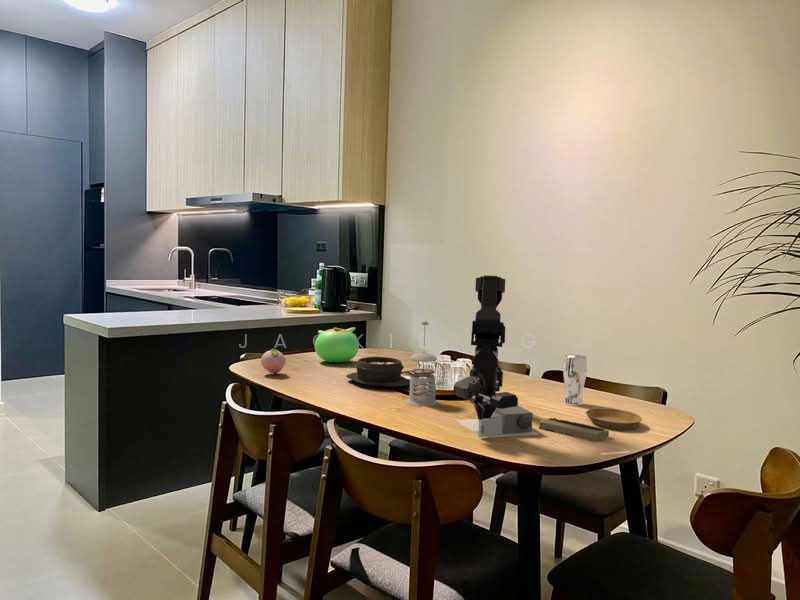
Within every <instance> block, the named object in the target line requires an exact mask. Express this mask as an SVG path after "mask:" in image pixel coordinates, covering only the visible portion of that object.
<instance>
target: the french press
mask: <svg viewBox="0 0 800 600" xmlns="http://www.w3.org/2000/svg"><path fill="white" fill-rule="evenodd" d="M421 325H422V326H429V323H428V321H427V320H424V321H422V322H421ZM423 333H424V334H423V335H424V337H423V346H425V345H426V344H425V343H426V341H425V339H426V328H424V332H423ZM410 360H411V361H415V362H420V363H422V368H413V369H412V370H411V371H410V372H411V373H412V374H410V375H409V377H410V378H409V379H410V384H409V398H407V400H405V401H406V403H407V404H408V405H411V406H416V407H432V406H433V407H434V406H437V405H438V404H439V403H438V401H437V400H436V390H437V387H439V386H441V385H442V383H443V382H444V380H445V377H446V371H445V368H444V366H443V365H442V364H441V363H439V362H437V357H436V356H435V355H433V354H431V353H428V352H425V351H422V352H417V353H415V354H412V355H411V356H410ZM427 362H428V363H429V362H430V363H431V362H434V368H437V365H438V366H440V368H441V371H442V372H443V373H442V374H441V375H442V376H441V377H440V380H439V381H438V382H437V383H436V377H437V376H436V375H434V374H436V373H435V372H436V371H435V370H434V369H429V368H425V366H424V365H425V363H427ZM423 377H424V378H423Z"/></svg>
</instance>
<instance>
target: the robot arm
mask: <svg viewBox="0 0 800 600" xmlns="http://www.w3.org/2000/svg"><path fill="white" fill-rule="evenodd" d="M474 286H475V288H474V290H475V292H476V293H477V299H478V302H479V303H480V309H479V310H477V312H476V313H475V318H474V319H475V320H472V323H471V324H472V325H471V338H470V339H471V340H470V346H475V347H474V356H473V361H472V362H473V363H472V364H473V365H472V368H471V369H470V371H469V376H467V377H464V378H463V379H460V380H458V381H456V382H455V383H454V384H453V388H452V389H453V393H455V394H456V397H458V398H462V399H463V400H466V401H469V402H470V403H471V404H472V405H473V407H474V409H475V412H476V416H477V419H478V420H482V419H487V418H491V416H492V414H493V413H494V411H495V409H496V408H499V409H504V408H510V407H516V406H519V405H518V404H519V397H518V396H517V394H514V393H512V392H507V391H502V392H500V390H501V389H500V388H501V387H503V382H504V381H503V379H504V372H503V370H502V367H501V366H499V365H500V364H499V363H500V359H499V348H502V347H503V344H505V343H506V326H505V324H504V322H503V321H501V312H499V311H498V310H497V307H498V306H499V304H500V303H501V302H502V301H503V300H502V299H503V294H505V293H506V278H502V277H501V276H498V275H485V274H484V275H480V277H475V285H474ZM474 339H475V340H474Z"/></svg>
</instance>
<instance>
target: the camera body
mask: <svg viewBox="0 0 800 600" xmlns="http://www.w3.org/2000/svg"><path fill="white" fill-rule="evenodd" d="M497 416H504V424H503V434H509V433H524V432H532V430H533V412H532V411H530V410H527V409H526V408H524V407H522V406H520V405H518V406H516V407H510V408H504V409H499V408H496V409H495V411H494V413H493V414H492V416H491V418H492V417H497Z"/></svg>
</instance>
